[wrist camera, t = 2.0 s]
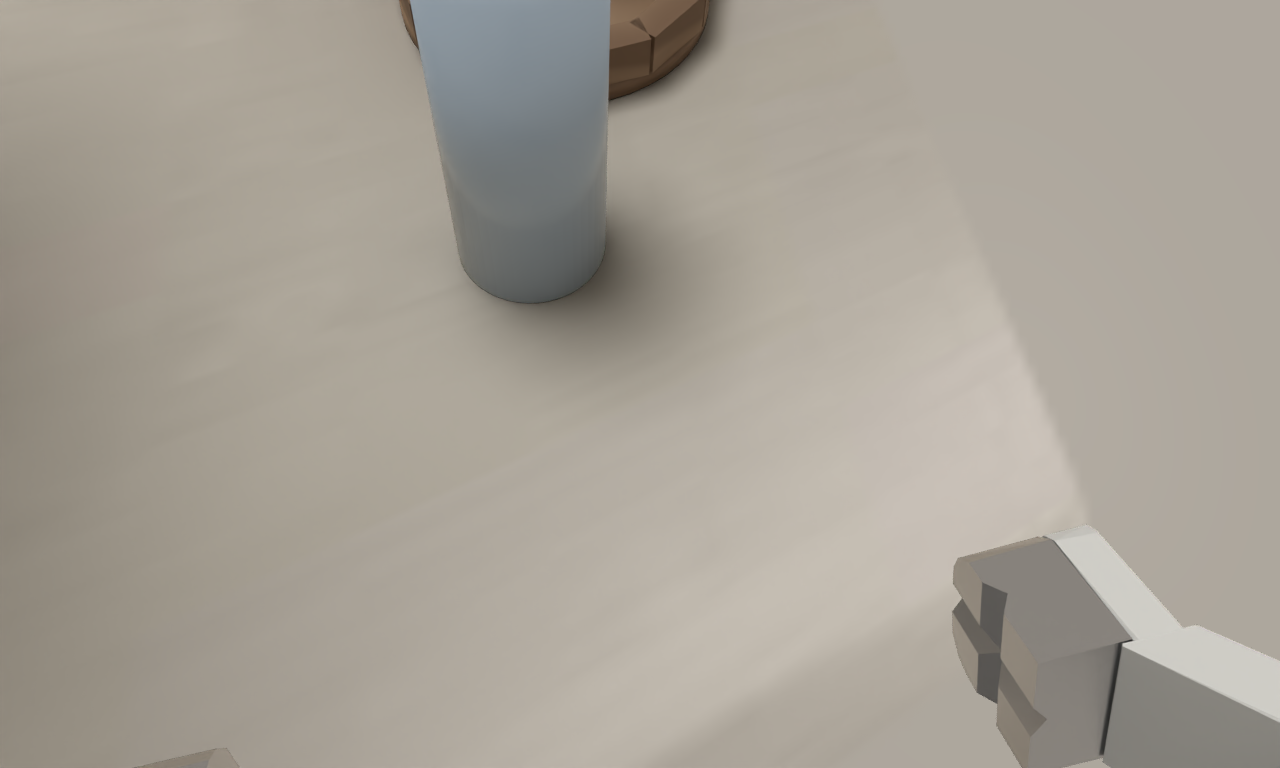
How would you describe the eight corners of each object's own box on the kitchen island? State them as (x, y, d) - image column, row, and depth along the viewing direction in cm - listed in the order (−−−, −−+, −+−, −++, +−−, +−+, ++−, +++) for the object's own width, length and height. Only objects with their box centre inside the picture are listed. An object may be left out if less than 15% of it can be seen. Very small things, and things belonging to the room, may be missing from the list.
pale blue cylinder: (426, 249, 40) (354, -56, 28) (525, 163, 42) (499, -151, 30) (538, 329, 38) (514, 42, 26) (634, 235, 41) (653, -67, 29)
